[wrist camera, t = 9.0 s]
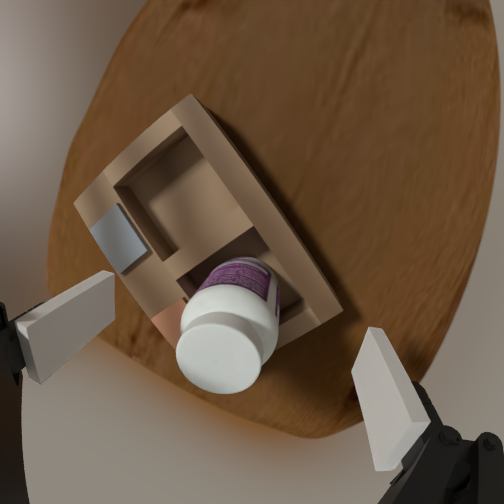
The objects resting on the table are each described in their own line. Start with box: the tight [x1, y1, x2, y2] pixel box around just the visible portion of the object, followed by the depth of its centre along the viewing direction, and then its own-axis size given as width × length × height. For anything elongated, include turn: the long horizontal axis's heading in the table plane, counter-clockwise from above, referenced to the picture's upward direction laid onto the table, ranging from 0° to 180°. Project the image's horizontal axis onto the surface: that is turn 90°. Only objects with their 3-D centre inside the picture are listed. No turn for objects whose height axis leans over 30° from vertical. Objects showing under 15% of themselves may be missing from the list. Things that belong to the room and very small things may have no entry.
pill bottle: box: [176, 256, 280, 394], centre depth 17 cm, size 5×5×10 cm
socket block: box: [74, 93, 343, 351], centre depth 20 cm, size 12×18×4 cm
